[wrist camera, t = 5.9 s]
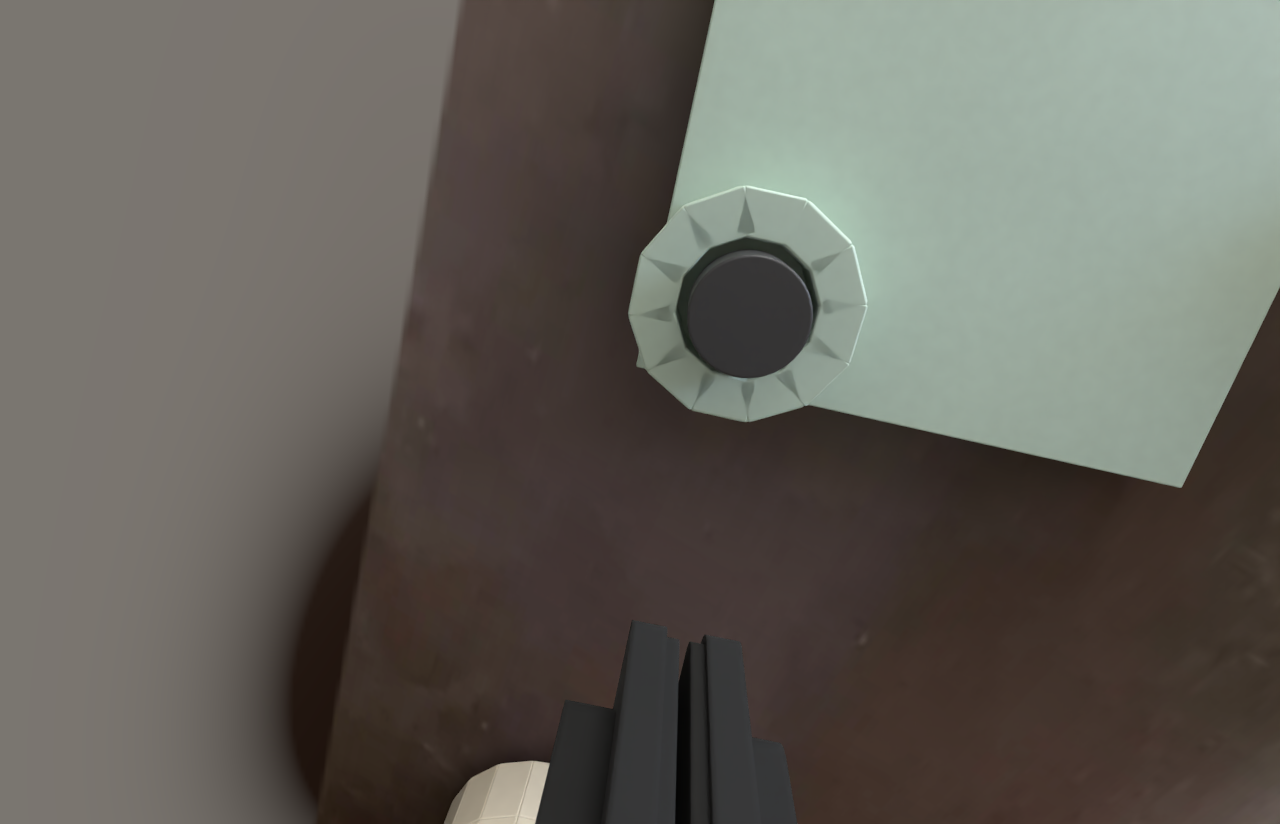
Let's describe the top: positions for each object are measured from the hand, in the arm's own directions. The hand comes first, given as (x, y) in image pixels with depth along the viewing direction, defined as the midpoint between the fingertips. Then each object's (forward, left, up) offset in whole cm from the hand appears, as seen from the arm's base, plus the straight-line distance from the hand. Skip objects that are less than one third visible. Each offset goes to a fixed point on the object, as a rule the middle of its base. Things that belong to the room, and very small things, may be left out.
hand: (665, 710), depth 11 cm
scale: (+6, +9, -13) cm, 17 cm away
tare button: (+1, +5, -10) cm, 11 cm away
